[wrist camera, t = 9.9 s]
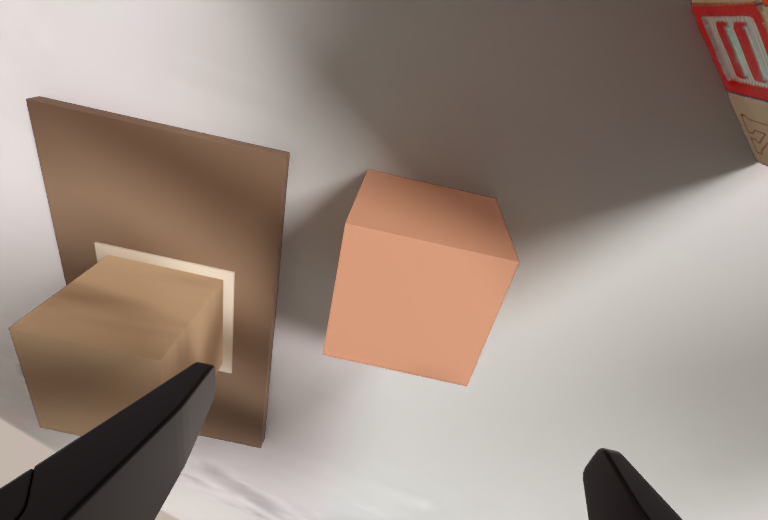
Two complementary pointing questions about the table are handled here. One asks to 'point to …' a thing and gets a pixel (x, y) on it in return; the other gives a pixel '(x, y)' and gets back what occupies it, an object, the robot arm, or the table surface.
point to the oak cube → (115, 339)
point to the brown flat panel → (175, 228)
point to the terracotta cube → (419, 278)
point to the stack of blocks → (740, 61)
